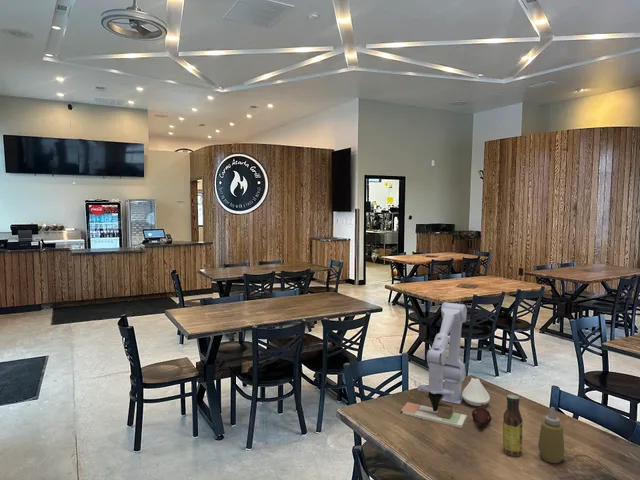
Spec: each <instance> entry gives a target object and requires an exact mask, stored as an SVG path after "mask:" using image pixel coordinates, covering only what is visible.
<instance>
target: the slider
mask: <svg viewBox="0 0 640 480" xmlns="http://www.w3.org/2000/svg"><path fill="white" fill-rule="evenodd" d="M453 412H454V403H449V402H445V401H440V402H439V405H438V413H437V416H439V417H444V418H448V419H450V418H451V416H452V414H453Z"/></svg>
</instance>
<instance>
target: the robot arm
mask: <svg viewBox="0 0 640 480" xmlns="http://www.w3.org/2000/svg"><path fill="white" fill-rule="evenodd" d="M440 311H441V317H442V322H441V326H440V330H439V332H438V333H436V335H435V337H434V340H433V343H432V345H431V348H430V349H428V351H427V352H426V361H427V367H428V385H426V384H418V385H417V391H418V392H426V393H428V394H427V397H428V399H429V400H430V403H431V406H432V407H431V408H433V411H437V410H438V405H439V404H440V402H445V403H450V404H457V405H461V403H462V401H463V400H464V399H463V397H462V392H463V383H462V382H464V381H465V379H466V376H467V375H466V374H467V372H466V364H465V363H464V362H463V361H462V360H461V359H460V353H461V352H460V351H461V341H462V327H463V323H466V322H467V314H468V313H467V312H468V309H467V306H466V304H461V303H453V302H446V301H445V302H443V303H442V304H441V308H440ZM447 348H448V355H447Z"/></svg>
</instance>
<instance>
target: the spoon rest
mask: <svg viewBox="0 0 640 480" xmlns="http://www.w3.org/2000/svg"><path fill="white" fill-rule="evenodd" d="M462 397H463V399H462V400H463V401H464V402H466V403H467V404H469V405H471V406H474V407H480V406H481V404H484V405H485V406H486V405H487V404H488V403H489V402H490V399H491V397H490V394H489V393H488V391H487V390H486V389H485V387H484V385H483V383H482V382H481V381H480V379H479V378H473V377H471V378H470V381H469V382H468V384H467V385H466V386H465V387H464V388H463V389H462Z"/></svg>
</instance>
